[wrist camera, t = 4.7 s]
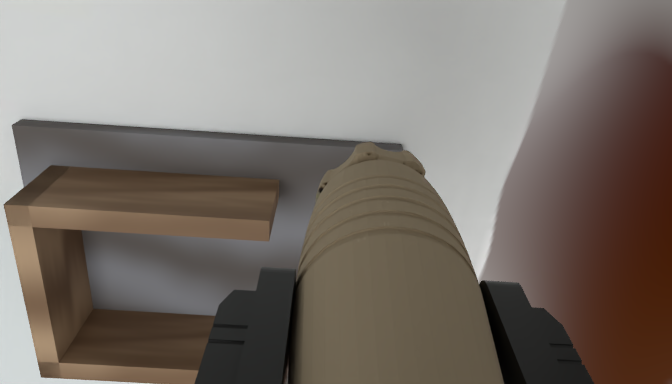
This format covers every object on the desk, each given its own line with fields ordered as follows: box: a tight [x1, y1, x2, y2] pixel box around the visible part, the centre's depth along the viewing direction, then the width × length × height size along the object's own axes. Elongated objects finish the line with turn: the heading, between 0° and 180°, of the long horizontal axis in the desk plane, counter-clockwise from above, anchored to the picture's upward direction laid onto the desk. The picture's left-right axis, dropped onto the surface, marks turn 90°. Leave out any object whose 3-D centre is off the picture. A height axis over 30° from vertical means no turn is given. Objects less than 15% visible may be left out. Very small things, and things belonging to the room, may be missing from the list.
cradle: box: [4, 120, 403, 384], centre depth 33 cm, size 16×22×6 cm
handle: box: [288, 142, 504, 384], centre depth 10 cm, size 5×6×15 cm
